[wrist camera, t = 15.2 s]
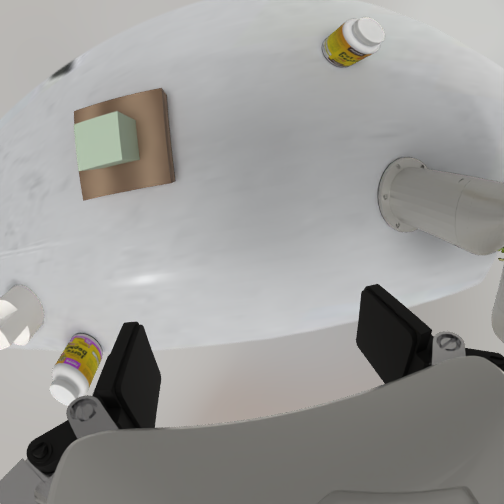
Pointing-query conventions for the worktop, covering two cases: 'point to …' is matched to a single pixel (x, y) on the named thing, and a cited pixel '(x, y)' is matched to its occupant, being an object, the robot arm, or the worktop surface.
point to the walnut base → (149, 144)
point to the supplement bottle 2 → (353, 41)
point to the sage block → (106, 141)
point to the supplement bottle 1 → (75, 369)
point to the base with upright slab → (19, 316)
